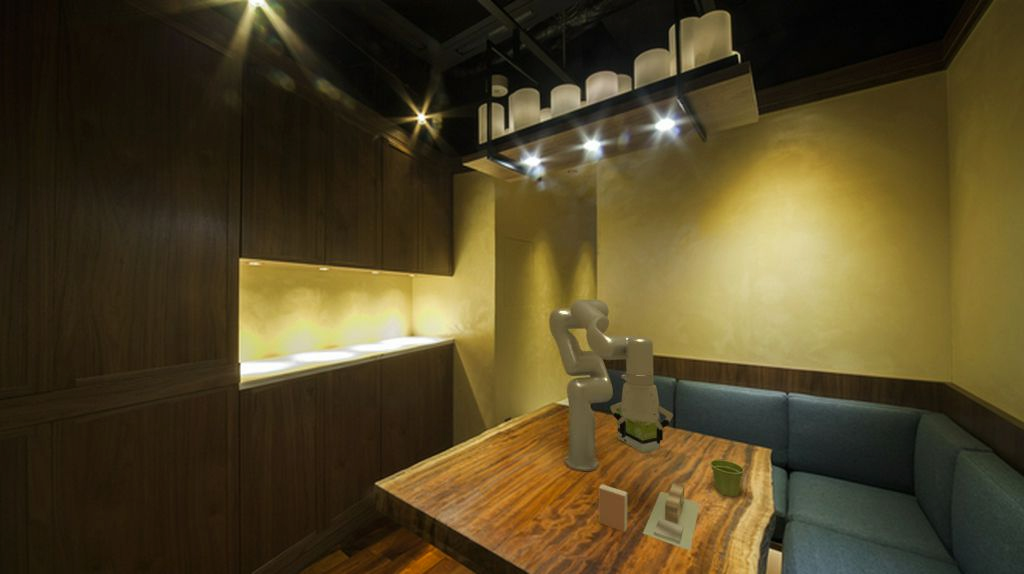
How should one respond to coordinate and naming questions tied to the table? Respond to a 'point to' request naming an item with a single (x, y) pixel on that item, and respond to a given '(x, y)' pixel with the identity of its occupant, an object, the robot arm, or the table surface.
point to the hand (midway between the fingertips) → (641, 439)
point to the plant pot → (727, 477)
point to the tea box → (640, 434)
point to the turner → (672, 515)
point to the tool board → (686, 520)
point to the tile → (613, 507)
